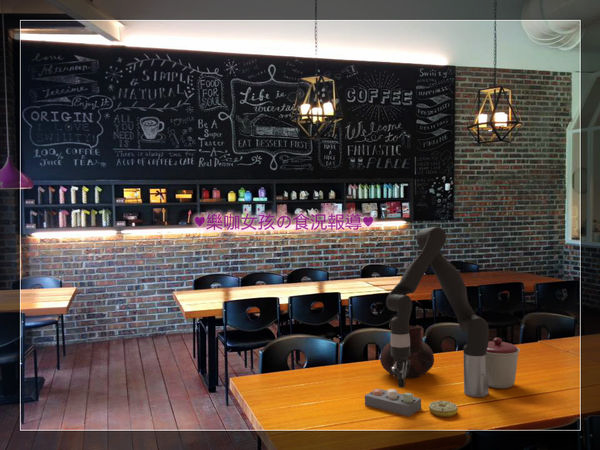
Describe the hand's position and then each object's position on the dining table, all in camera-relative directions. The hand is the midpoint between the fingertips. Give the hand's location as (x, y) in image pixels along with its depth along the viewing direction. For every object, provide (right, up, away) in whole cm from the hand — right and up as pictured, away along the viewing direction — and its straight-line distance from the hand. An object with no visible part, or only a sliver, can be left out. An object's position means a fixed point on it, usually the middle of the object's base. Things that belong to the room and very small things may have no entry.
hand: (401, 387), depth 209 cm
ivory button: (-3, -7, +2) cm, 8 cm away
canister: (+47, -7, +24) cm, 54 cm away
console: (-3, -9, +2) cm, 10 cm away
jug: (+10, -7, +40) cm, 42 cm away
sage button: (+2, -7, -2) cm, 7 cm away
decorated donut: (+15, -9, -5) cm, 18 cm away
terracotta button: (-8, -8, +7) cm, 13 cm away
